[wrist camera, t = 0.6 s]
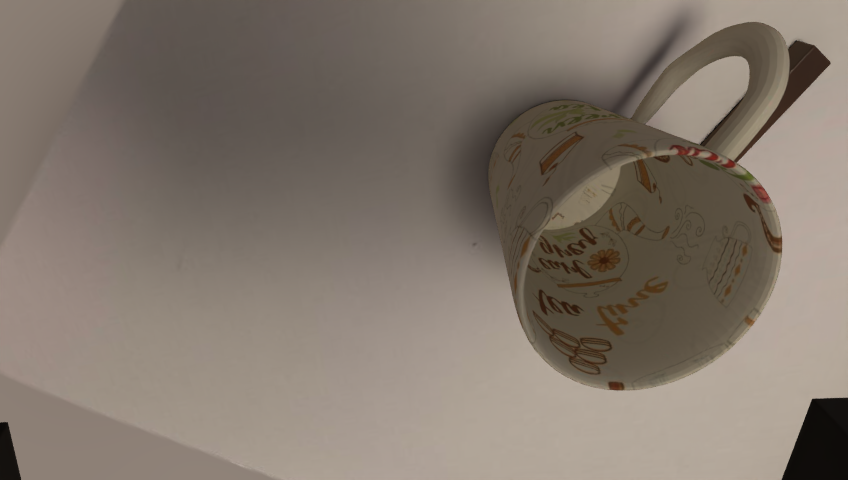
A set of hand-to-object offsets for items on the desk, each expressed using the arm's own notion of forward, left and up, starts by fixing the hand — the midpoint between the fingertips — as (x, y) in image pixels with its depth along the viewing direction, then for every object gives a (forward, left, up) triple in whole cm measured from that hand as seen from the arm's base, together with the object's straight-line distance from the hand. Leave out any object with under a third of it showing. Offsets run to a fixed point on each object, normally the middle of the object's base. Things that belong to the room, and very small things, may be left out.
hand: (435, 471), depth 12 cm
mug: (-6, +7, -19) cm, 21 cm away
